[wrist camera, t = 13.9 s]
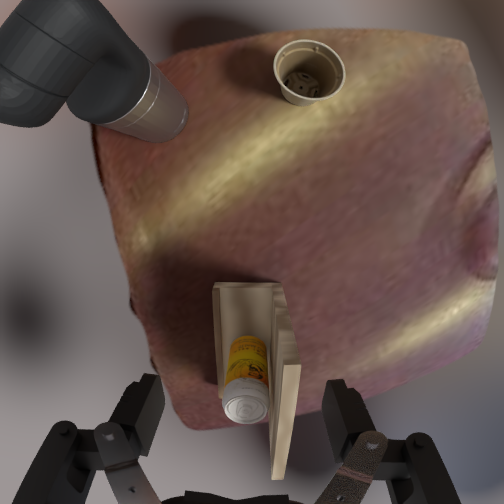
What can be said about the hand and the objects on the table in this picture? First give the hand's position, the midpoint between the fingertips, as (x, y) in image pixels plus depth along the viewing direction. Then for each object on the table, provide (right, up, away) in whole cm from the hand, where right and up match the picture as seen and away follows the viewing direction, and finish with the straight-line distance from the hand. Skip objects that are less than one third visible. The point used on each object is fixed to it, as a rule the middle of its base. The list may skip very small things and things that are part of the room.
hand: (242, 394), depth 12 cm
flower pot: (+8, +32, +26) cm, 42 cm away
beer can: (0, -9, +34) cm, 35 cm away
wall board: (0, -9, +36) cm, 37 cm away
